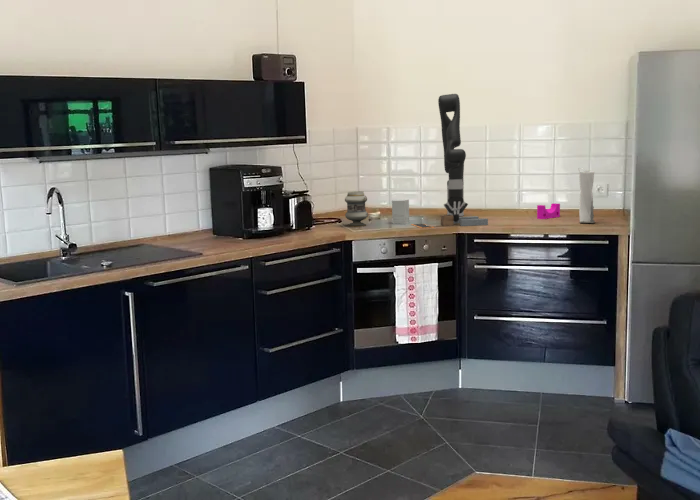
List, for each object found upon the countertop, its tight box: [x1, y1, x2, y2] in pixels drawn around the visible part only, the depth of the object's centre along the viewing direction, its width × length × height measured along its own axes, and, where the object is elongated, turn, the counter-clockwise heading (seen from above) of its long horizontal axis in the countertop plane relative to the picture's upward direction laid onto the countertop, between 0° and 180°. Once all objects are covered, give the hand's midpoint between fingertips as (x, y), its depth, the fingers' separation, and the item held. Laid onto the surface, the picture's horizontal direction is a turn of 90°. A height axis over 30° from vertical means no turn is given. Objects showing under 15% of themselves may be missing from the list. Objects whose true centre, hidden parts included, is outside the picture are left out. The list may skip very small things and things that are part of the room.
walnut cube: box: [440, 214, 454, 227], centre depth 413 cm, size 5×5×5 cm
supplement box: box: [391, 198, 410, 225], centre depth 427 cm, size 7×7×13 cm
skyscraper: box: [578, 167, 596, 224], centre depth 411 cm, size 8×8×28 cm
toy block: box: [536, 203, 561, 220], centre depth 439 cm, size 15×6×8 cm, turn 129°
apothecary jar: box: [344, 190, 369, 228], centre depth 419 cm, size 12×12×18 cm
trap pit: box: [410, 223, 436, 229], centre depth 411 cm, size 18×7×1 cm, turn 12°
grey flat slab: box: [453, 215, 489, 227], centre depth 416 cm, size 16×14×3 cm
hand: (455, 221), depth 415 cm, fingers closed
